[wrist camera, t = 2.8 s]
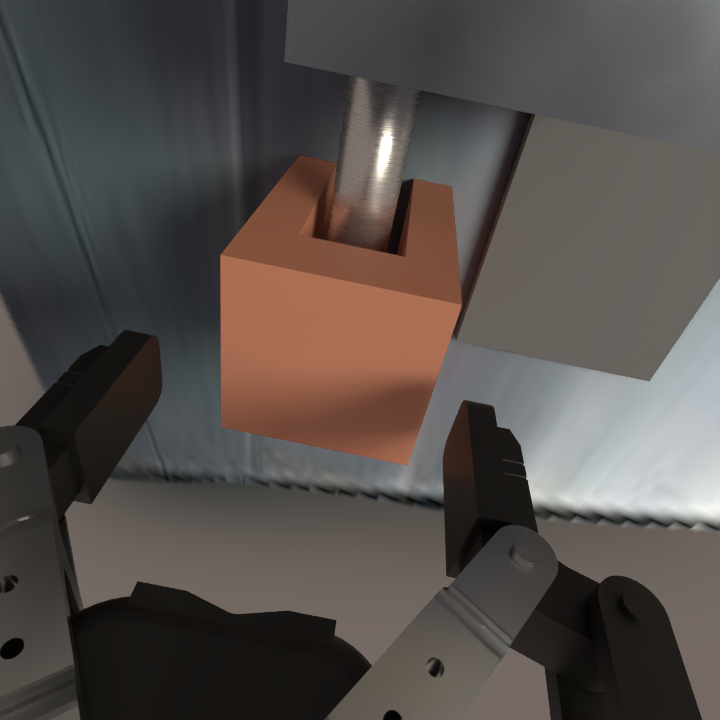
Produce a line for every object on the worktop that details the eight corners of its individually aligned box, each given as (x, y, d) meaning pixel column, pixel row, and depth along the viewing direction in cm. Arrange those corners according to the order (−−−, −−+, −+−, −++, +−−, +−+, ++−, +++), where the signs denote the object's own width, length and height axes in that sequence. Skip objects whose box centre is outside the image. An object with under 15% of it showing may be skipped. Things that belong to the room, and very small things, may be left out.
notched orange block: (451, 186, 19) (462, 304, 12) (416, 315, 23) (407, 465, 16) (299, 155, 19) (220, 254, 12) (287, 289, 23) (221, 427, 16)
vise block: (393, -250, 13) (230, -1166, 3) (733, -178, 13) (1884, -804, 3) (317, 314, 24) (225, 571, 13) (504, 353, 24) (558, 639, 13)
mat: (813, 120, 17) (824, 124, 16) (644, 373, 23) (649, 381, 23) (548, 65, 17) (551, 67, 16) (455, 333, 23) (456, 341, 23)
